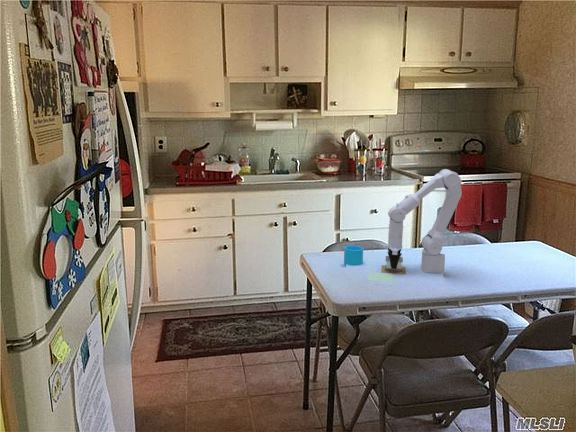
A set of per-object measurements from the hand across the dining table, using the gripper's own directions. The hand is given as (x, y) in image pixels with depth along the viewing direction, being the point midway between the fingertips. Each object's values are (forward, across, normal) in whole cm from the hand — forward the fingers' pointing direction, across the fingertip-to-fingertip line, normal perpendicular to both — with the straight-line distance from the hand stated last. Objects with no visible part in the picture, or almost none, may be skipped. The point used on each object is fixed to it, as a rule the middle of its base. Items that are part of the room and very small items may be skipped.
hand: (393, 266), depth 217 cm
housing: (+1, 0, 0) cm, 1 cm away
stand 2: (+3, 0, 0) cm, 3 cm away
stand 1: (+3, +11, -5) cm, 12 cm away
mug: (+3, -8, -18) cm, 20 cm away
